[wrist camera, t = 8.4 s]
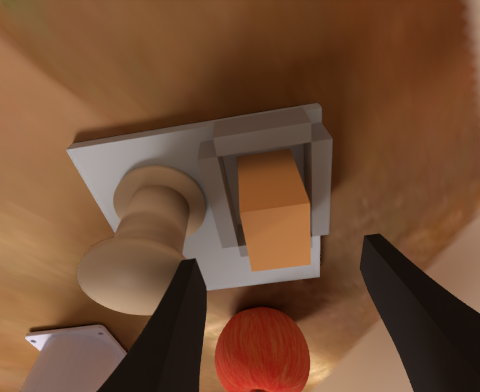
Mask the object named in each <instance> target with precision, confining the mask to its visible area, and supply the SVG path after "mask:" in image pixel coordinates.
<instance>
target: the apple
mask: <svg viewBox="0 0 480 392" xmlns="http://www.w3.org/2000/svg"><path fill="white" fill-rule="evenodd" d="M215 366H216V371H217V374H218V377H219V380H220V382H221V384H222V386H223V387H224V389H225V390H226V391H227V392H301V391H302V390H303V388H304V386H305V384H306V382H307V380H308V376H309V371H310V355H309V349H308V346H307V343H306V340H305V338H304V336H303V334H302V332H301V330H300V328H299V327H298V326H297V324H296V323H295V322H294V321H293V320H292V319H291V318H290V317H289V316H288V315H286V314H285V313H283V312H281V311H279V310H277V309H273V308H268V307H256V308H252V309H248V310H244V311H241V312H239V313H237V314H236V315H234V316H233V317H232V318H231V319H230V320H229V322H228V323H227V324H226V326H225V327H224V329H223V331H222V332H221V334H220V336H219V339H218V342H217V346H216V351H215Z"/></svg>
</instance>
